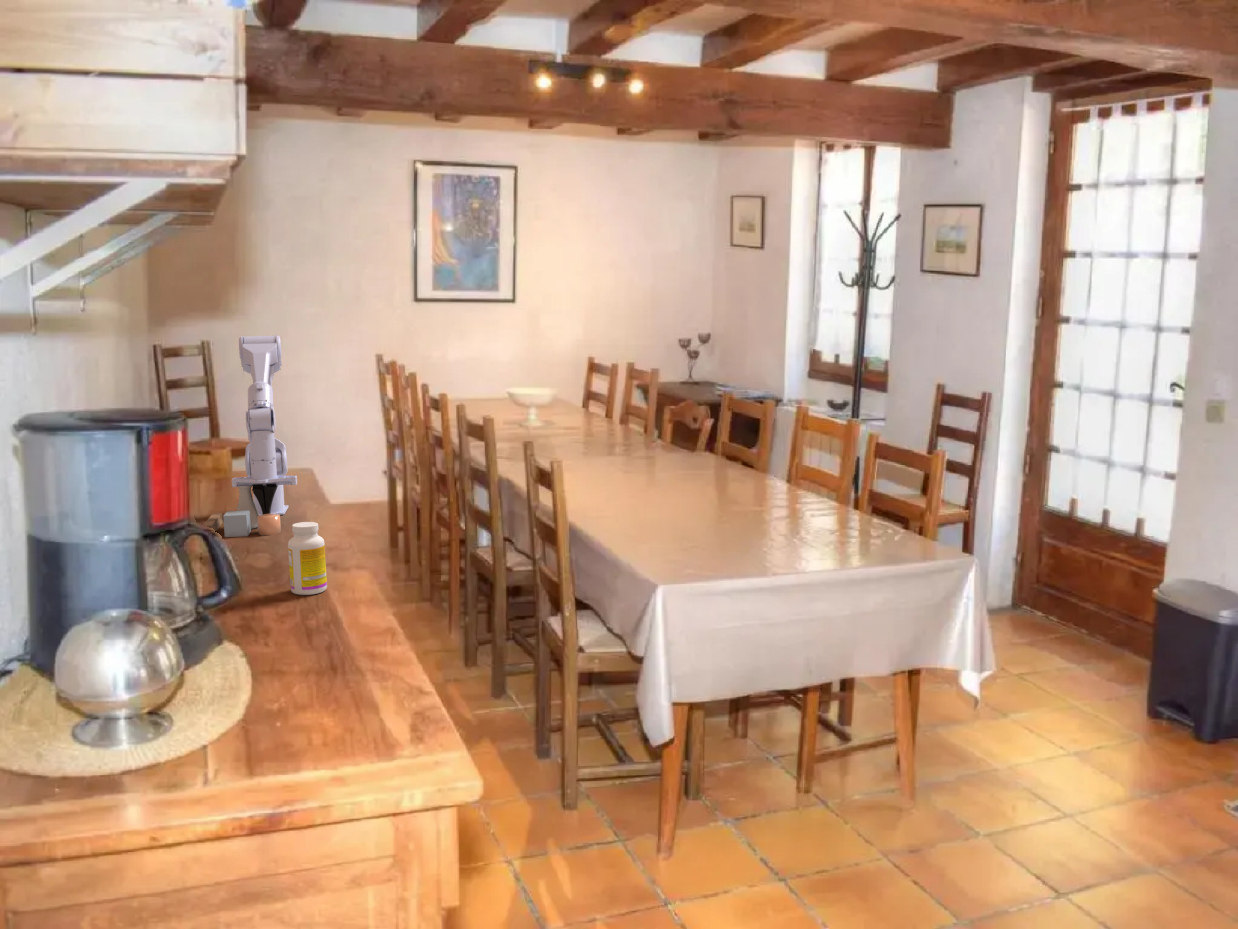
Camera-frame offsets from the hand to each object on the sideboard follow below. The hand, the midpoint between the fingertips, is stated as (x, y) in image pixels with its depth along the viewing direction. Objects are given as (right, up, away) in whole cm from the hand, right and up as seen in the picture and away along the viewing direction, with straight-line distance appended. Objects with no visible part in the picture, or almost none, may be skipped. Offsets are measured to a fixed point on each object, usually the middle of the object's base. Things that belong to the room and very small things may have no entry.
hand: (266, 515), depth 266 cm
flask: (-5, -3, 0) cm, 5 cm away
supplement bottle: (+25, -12, -54) cm, 61 cm away
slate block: (-4, -4, -8) cm, 10 cm away
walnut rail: (-12, -3, -3) cm, 12 cm away
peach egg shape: (+3, -4, -7) cm, 8 cm away
